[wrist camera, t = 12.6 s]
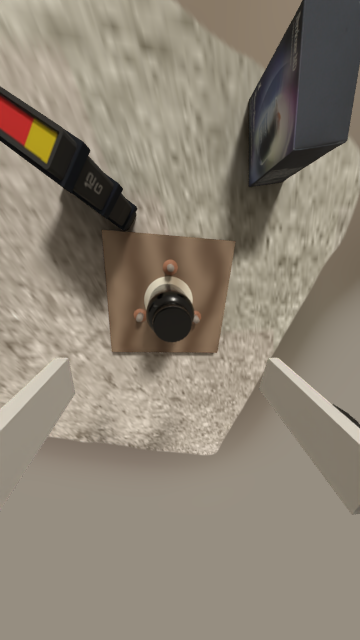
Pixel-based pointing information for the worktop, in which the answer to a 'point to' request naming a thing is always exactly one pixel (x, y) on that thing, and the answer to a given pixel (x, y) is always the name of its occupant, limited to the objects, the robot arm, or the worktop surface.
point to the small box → (305, 91)
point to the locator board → (157, 269)
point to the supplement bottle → (170, 313)
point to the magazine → (62, 159)
